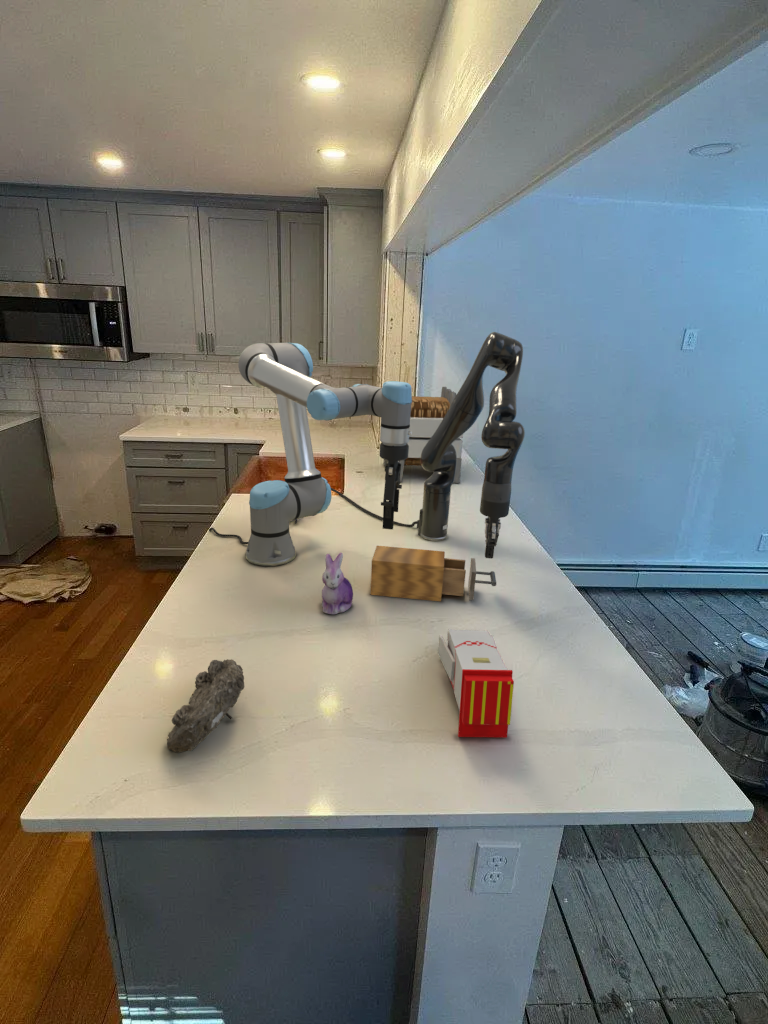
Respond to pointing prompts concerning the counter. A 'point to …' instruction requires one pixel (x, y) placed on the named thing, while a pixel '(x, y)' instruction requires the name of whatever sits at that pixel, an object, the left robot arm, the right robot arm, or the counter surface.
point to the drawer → (462, 577)
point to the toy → (478, 682)
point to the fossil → (206, 705)
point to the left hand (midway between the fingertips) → (390, 519)
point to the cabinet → (407, 573)
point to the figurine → (335, 587)
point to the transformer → (429, 428)
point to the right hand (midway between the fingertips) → (488, 557)
